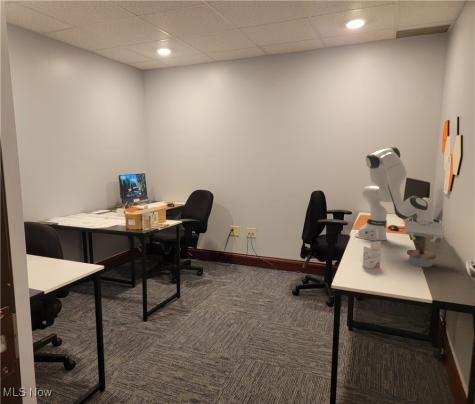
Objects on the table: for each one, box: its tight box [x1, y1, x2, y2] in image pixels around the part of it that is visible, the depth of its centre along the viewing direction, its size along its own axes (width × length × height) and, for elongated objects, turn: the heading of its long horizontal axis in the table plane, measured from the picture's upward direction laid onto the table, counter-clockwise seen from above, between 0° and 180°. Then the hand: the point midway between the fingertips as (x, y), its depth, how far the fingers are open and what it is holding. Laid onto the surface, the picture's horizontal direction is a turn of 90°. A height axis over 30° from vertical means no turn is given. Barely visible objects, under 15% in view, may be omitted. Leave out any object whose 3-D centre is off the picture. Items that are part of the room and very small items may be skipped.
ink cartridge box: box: [362, 240, 382, 269], centre depth 189 cm, size 9×5×15 cm, turn 117°
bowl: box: [408, 255, 434, 268], centre depth 197 cm, size 12×12×5 cm
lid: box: [406, 238, 437, 260], centre depth 196 cm, size 15×15×9 cm
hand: (422, 241), depth 197 cm, fingers open, 8 cm apart
